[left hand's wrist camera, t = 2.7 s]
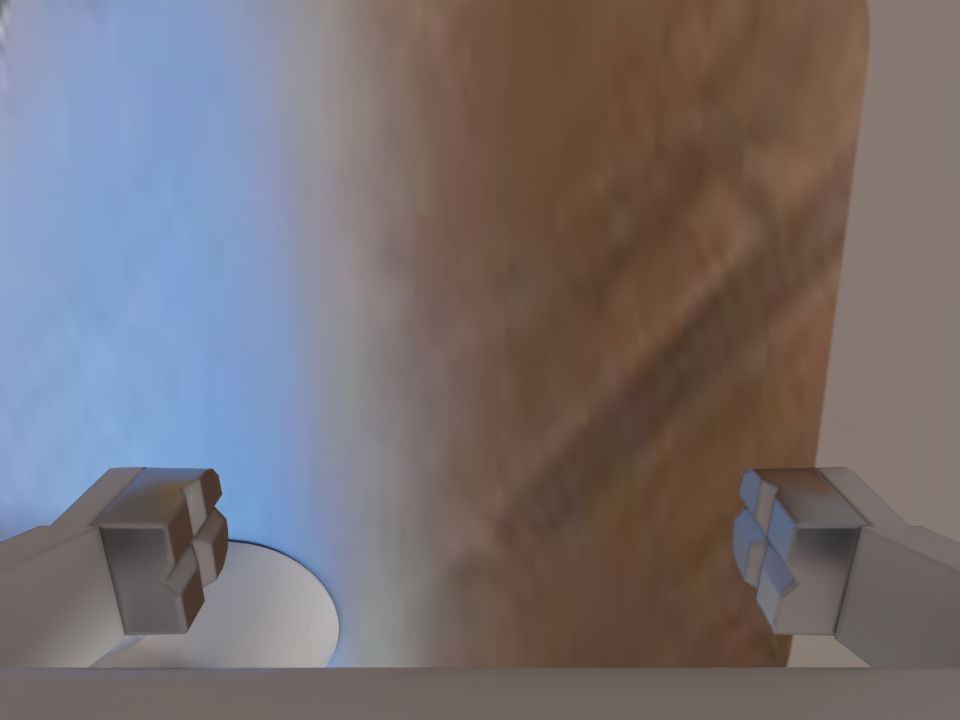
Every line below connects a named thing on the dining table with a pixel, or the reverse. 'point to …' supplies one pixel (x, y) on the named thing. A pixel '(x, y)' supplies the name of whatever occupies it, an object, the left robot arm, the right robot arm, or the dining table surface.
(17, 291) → the dining table surface
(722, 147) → the dining table surface
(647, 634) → the dining table surface
